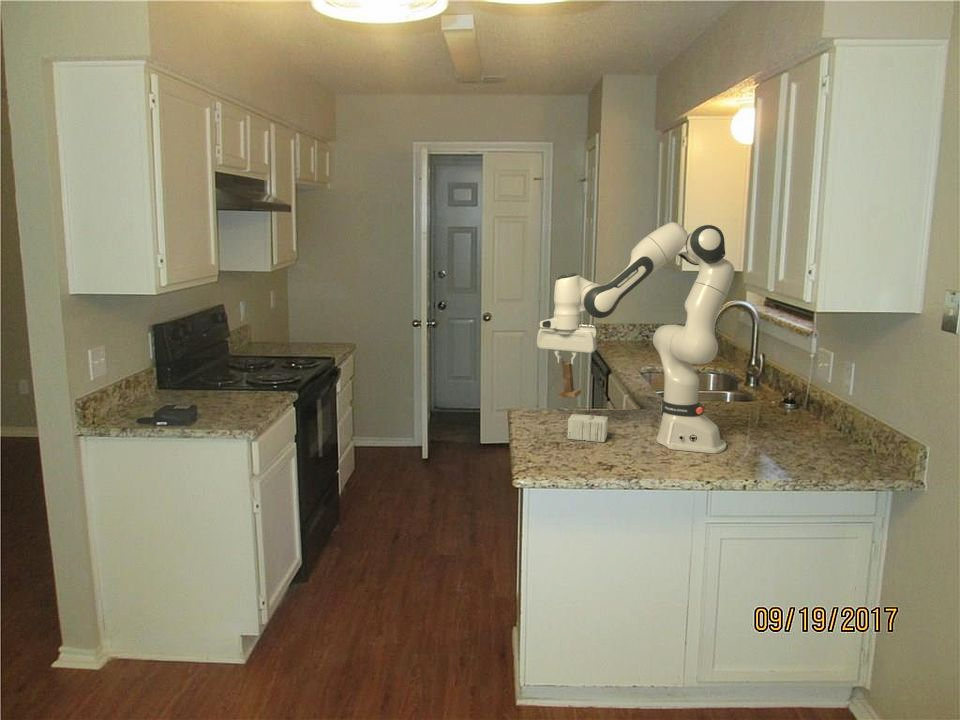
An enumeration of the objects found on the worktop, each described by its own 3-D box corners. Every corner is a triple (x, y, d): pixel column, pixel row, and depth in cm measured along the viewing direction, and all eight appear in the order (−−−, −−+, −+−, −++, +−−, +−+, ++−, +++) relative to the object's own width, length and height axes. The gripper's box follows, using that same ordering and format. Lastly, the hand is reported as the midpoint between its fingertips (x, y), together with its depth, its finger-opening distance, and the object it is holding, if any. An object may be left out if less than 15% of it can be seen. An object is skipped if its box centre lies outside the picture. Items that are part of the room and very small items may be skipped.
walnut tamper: (580, 393, 255) (578, 360, 253) (574, 397, 250) (571, 364, 248) (564, 392, 258) (561, 360, 256) (557, 397, 253) (554, 364, 251)
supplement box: (571, 413, 258) (608, 416, 255) (570, 433, 260) (607, 437, 256) (568, 418, 251) (606, 421, 248) (567, 439, 253) (604, 443, 249)
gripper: (599, 323, 247) (598, 364, 249) (542, 319, 256) (542, 359, 259) (593, 326, 241) (592, 368, 244) (535, 322, 250) (534, 362, 253)
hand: (566, 363), depth 251 cm, fingers closed on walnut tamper, 2 cm apart
